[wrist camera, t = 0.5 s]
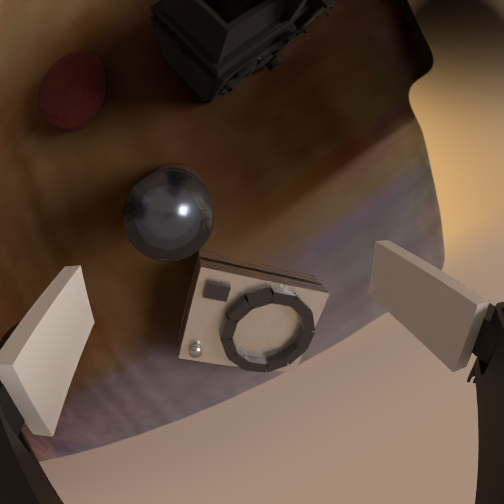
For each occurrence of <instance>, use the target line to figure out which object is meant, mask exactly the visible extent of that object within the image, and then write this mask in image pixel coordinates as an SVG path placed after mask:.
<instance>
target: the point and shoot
mask: <svg viewBox="0 0 504 504" xmlns="http://www.w3.org/2000/svg"><path fill="white" fill-rule="evenodd" d="M329 294H330V293H329V292H328V291H327V290H326V289H325V288H324V287H323V286H322V284H321V283H320V282H319V281H318V280H317V279H316V278H315V277H314V276H313V275H309V274H305V273H300V272H296V271H291V270H287V269H282V268H278V267H273V266H269V265H264V264H260V263H255V262H251V261H246V260H242V259H237V258H233V257H228V256H224V255H220V254H215V253H211V252H206V251H202V250H199V252H198V256H197V260H196V264H195V268H194V272H193V276H192V280H191V284H190V288H189V292H188V296H187V300H186V304H185V308H184V313H183V317H182V321H181V326H180V330H179V358H181V359H187V360H193V361H200V362H206V363H213V364H220V365H228V366H236V367H240V368H242V369H243V370H244V369H245V370H247V371H256V372H266V370H267V372H270V371H284V372H295V370H296V368H297V366H298V364H299V362H300V360H301V358H302V355H303V353H304V352H306V351H305V350H307V349H308V346H309V344H310V342H311V340H312V338H313V335H314V333H315V327H316V324H317V322H318V320H319V317H320V315H321V313H322V310H323V308H324V306H325V303H326V301H327V299H328V296H329Z"/></svg>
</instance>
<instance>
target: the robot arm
mask: <svg viewBox="0 0 504 504" xmlns="http://www.w3.org/2000/svg"><path fill="white" fill-rule="evenodd" d="M369 295H370V296H371V297H373V298H374V299H375V300H376V301H377V302H378V303H379V304H380V305H381V306H383V307H384V308H385V309H386V310H387V311H388V312H389V313H390V314H392V315H393V316H394V317H395V318H396V319H397V320H398V321H399V322H400V323H401V324H403V325H404V326H405V327H406V328H407V329H408V330H409V331H410V332H411V333H412V334H414V336H416V337H417V338H418V339H419V340H420V341H421V342H422V343H423V344H424V345H425V346H426V347H427V348H428V349H429V350H430V351H431V352H433V353H434V354H435V355H436V356H437V357H438V358H439V359H440V360H441V361H442V362H443V363H444V364H445V365H446V366H447V367H448V368H449V369H450V370H451V371H453V372H455V371H458V370H460V369H462V368H464V367H466V366H467V364H468V361H469V359H470V356H471V354H472V353H473V354H474V355H476V356H477V358H476V361H475V363H474V365H473V368H472V370H471V372H470V374H469V377H468V379H467V382H470V380H471V378H472V377H473V376H475V379H474V381H473V383H476V391H477V405H478V430H479V454H478V455H479V456H478V478H477V490H476V500H475V504H504V302H500V303H497V304H496V306H494V305H492V304H490V303H489V302H490V301H489V300H488V299H486V298H485V297H483V296H482V295H480V294H478V293H477V292H475V291H474V290H472V289H470V288H469V287H467V286H465V285H464V284H462V283H461V282H459V281H458V280H456V279H454V278H453V277H451V276H449V275H448V274H446V273H444V272H443V271H441V270H439V269H438V268H436V267H434V266H433V265H431V264H429V263H428V262H426V261H424V260H422V259H421V258H419V257H417V256H415V255H414V254H412V253H410V252H408V251H407V250H405V249H403V248H401V247H399V246H398V245H396V244H394V243H392V242H390V241H389V240H386V241H375V250H374V258H373V266H372V274H371V281H370V288H369ZM93 324H94V319H93V316H92V312H91V308H90V304H89V300H88V296H87V292H86V288H85V283H84V279H83V274H82V270H81V265H78V266H66V267H64V268H63V269H62V271H61V272H60V273H59V274H58V275H57V277H56V278H55V279H54V280H53V281H52V282H51V284H50V285H49V286H48V287H47V289H46V290H45V291H44V292H43V293H42V295H41V296H40V297H39V298H38V300H37V301H36V302H35V304H34V305H33V306H32V307H31V309H30V310H29V311H28V313H27V314H26V315H25V317H24V318H23V319H22V321H21V322H20V323H17V324H16V325H15V326H13V327H12V328H11V329H10V330H8V331H7V333H6V334H5V335H4V337H3V338H2V341H0V504H64V503H63V502H62V501H61V499H60V497H59V496H58V494H57V493H56V491H55V489H54V488H53V486H52V485H51V483H50V481H49V480H48V478H47V476H46V474H45V473H44V471H43V469H42V467H41V466H40V464H39V462H38V460H37V458H36V456H35V454H34V453H33V451H32V449H31V447H30V445H29V443H28V441H27V438H26V437H25V435H24V434H23V432H22V431H21V429H22V426H23V424H24V421H25V423H26V424H27V426H28V427H29V429H30V430H31V432H32V433H33V434H37V435H44V436H52V437H53V435H54V432H55V429H56V425H57V422H58V419H59V416H60V413H61V409H62V406H63V403H64V400H65V397H66V395H67V392H68V389H69V386H70V383H71V380H72V378H73V375H74V372H75V369H76V367H77V364H78V361H79V359H80V356H81V354H82V351H83V349H84V346H85V344H86V341H87V339H88V336H89V334H90V332H91V329H92V327H93Z"/></svg>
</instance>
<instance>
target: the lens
mask: <svg viewBox="0 0 504 504" xmlns="http://www.w3.org/2000/svg"><path fill="white" fill-rule="evenodd" d="M213 222H214V211H213V206H212V202H211V199H210V197H209V195H208V192H207V190H206V187H205V186H204V184H203V182H202V179H201V177H200V176H199V174H198V173H197V172H196V171H195V170H194V169H193V168H191V167H189V166H187V165H184V164H180V163H172V164H168V165H165V166H163V167H161V168H160V169H158V170H157V171H154V172H153V173H151V174H149V175H148V176H147V177H145V178H144V179H142V180H141V181H140V182H138V183H137V184H136V185H135V186H134V188H133V189H132V190H131V192H130V193H129V195H128V197H127V199H126V201H125V205H124V209H123V224H124V228H125V232H126V234H127V236H128V238H129V240H130V242H131V243H132V244H133V245H134V247H135V248H136V249H137V250H138V251H140V252H141V253H142V254H144V255H146V256H147V257H150V258H152V259H155V260H158V261H167V262H171V261H178V260H182V259H185V258H187V257H189V256H191V255H193V254H194V253H196V252H197V251H198V250H199V249H200V248H201V247H202V246H203V245H204V244H205V242H206V241H207V239H208V238H209V236H210V233H211V231H212V227H213Z"/></svg>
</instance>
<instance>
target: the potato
mask: <svg viewBox="0 0 504 504" xmlns="http://www.w3.org/2000/svg"><path fill="white" fill-rule="evenodd" d="M105 94H106V74H105V70H104V66H103V64H102V62H101V60H100V58H99V57H98V56H96V55H95V54H94V53H92V52H90V51H84V50H81V51H76V52H72V53H70V54H67V55H65V56H64V57H62V58H61V59H60V60H58V61H57V62H56V63H54V64H53V66H52V67H51V68H50V70H49V71H48V72H47V74H46V75H45V77H44V79H43V81H42V83H41V85H40V88H39V94H38V103H39V109H40V112H41V113H42V115H43V116H44V118H45V119H46V120H47V122H48V123H49V124H50V125H51V126H52V127H53V128H55V129H57V130H60V131H62V132H75V131H78V130H80V129H82V128H84V127H86V126H87V125H88V124H90V123H91V122H92V121H93V120H94V119H95V117H96V116H97V114H98V113H99V111H100V109H101V107H102V104H103V102H104V98H105Z"/></svg>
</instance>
